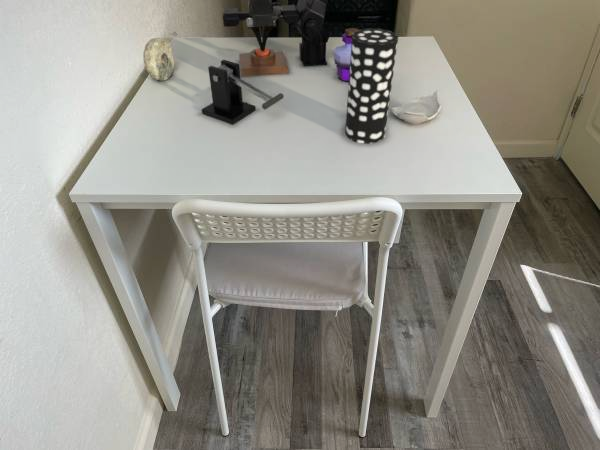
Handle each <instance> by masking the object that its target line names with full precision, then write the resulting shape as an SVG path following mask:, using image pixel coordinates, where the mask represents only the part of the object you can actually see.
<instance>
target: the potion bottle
mask: <svg viewBox="0 0 600 450" xmlns="http://www.w3.org/2000/svg"><path fill="white" fill-rule="evenodd" d="M344 31H345V32H344V33H343V34H342V36H341V42H343V43H344V44H343V45H338V46H335V48H334V49H333V51H332V54H333V55H332V56H333V60H334V65H335V66H336V72H337V79H338V80H339V81H340V82H344V83H349V74H350V60H351V46H352V35H353V33H354V32H356V31H359V29H357V28H355V27H352V28H346V29H345V30H344Z"/></svg>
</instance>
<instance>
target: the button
mask: <svg viewBox="0 0 600 450" xmlns="http://www.w3.org/2000/svg"><path fill="white" fill-rule="evenodd" d="M255 49H256V55H259V56H266V55H269V49H270V48H268V49H267V47H265V50H264V51H261V49H260V47H259V48H255Z"/></svg>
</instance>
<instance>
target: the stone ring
mask: <svg viewBox="0 0 600 450" xmlns="http://www.w3.org/2000/svg"><path fill="white" fill-rule="evenodd" d="M143 64H144V68H145V70H146V72H147V73H148V75H149V76H150V77H151V78H152V79H154V80H156V81H159V82H160V81H162V82H163V81H166V80H167V81H168V80H169V79H170V77H171V76H172V74H173V70H174V68H175V58H174V55H173V48H172V45H171V43H170V41H169V39H167V38H164V37H155V38H151V39H150V40H148V41H147V42H146V43H145V46H144V50H143Z"/></svg>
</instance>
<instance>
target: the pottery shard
mask: <svg viewBox="0 0 600 450" xmlns="http://www.w3.org/2000/svg"><path fill="white" fill-rule="evenodd" d="M439 98H440V97H439V93H438V90H434V92H433V94H432V95H425V96H420V97H416V98H414V99H413V100H411V101H409V102H407V103H403V104H401V105H399V106H393V107H391V112H392V113H393V115H394V116H396V117H397V119H400V120H402V121H404V122H406V123H408V124H411V125H419V124H422V123H424V122H427V121H430V120H432V119H434V118H435V117H437V115H439V112H440V110H441V107H442V105H441V103H440V99H439Z"/></svg>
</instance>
